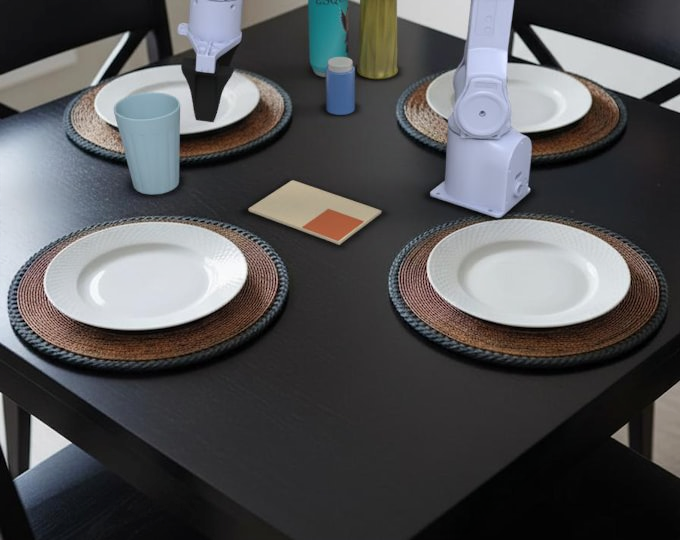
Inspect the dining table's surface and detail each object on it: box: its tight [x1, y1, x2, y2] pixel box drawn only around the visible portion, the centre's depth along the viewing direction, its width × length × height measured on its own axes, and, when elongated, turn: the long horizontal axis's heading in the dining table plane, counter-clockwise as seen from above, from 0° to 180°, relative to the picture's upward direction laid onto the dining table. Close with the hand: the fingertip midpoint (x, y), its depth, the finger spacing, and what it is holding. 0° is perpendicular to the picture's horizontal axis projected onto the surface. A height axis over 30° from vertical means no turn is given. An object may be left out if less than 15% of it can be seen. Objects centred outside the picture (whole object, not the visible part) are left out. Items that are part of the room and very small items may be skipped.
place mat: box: [248, 179, 382, 246], centre depth 121 cm, size 13×8×1 cm, turn 54°
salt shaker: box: [325, 57, 356, 116], centre depth 143 cm, size 4×4×7 cm
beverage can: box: [307, 0, 349, 78], centre depth 152 cm, size 6×6×15 cm
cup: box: [113, 92, 181, 196], centre depth 125 cm, size 8×8×10 cm
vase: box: [356, 0, 399, 80], centre depth 152 cm, size 6×6×14 cm
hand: (209, 105), depth 121 cm, fingers open, 7 cm apart
